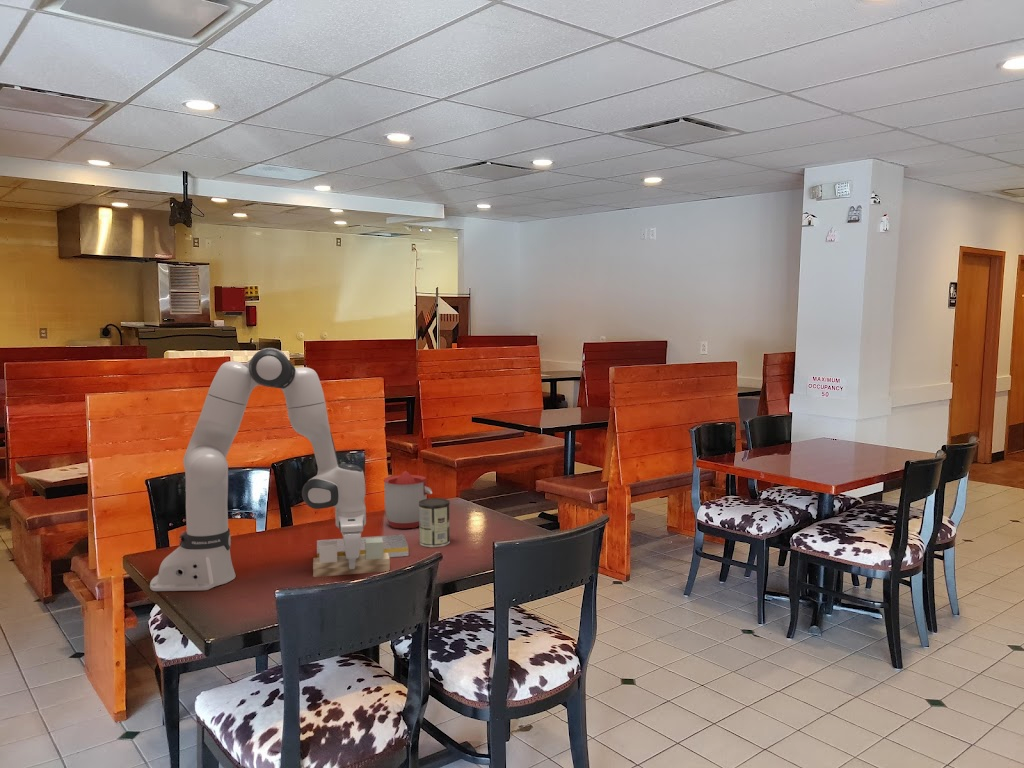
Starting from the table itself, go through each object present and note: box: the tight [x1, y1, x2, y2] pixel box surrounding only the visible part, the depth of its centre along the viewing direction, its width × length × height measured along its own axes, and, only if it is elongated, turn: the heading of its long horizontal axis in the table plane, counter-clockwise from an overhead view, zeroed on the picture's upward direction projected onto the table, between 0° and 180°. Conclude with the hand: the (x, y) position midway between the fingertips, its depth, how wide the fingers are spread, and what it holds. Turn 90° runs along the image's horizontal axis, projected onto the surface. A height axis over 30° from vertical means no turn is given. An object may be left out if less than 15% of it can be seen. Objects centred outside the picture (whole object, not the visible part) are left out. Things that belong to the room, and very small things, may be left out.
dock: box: [316, 534, 410, 558], centre depth 244 cm, size 28×14×3 cm, turn 104°
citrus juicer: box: [383, 470, 433, 529], centre depth 276 cm, size 16×17×20 cm
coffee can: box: [418, 497, 451, 548], centre depth 255 cm, size 10×10×14 cm
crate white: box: [319, 540, 337, 563], centre depth 225 cm, size 5×5×5 cm
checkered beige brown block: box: [312, 553, 391, 578], centre depth 227 cm, size 22×6×4 cm, turn 104°
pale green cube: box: [365, 537, 383, 560], centre depth 228 cm, size 5×5×5 cm
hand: (351, 564), depth 227 cm, fingers closed on checkered beige brown block, 6 cm apart
